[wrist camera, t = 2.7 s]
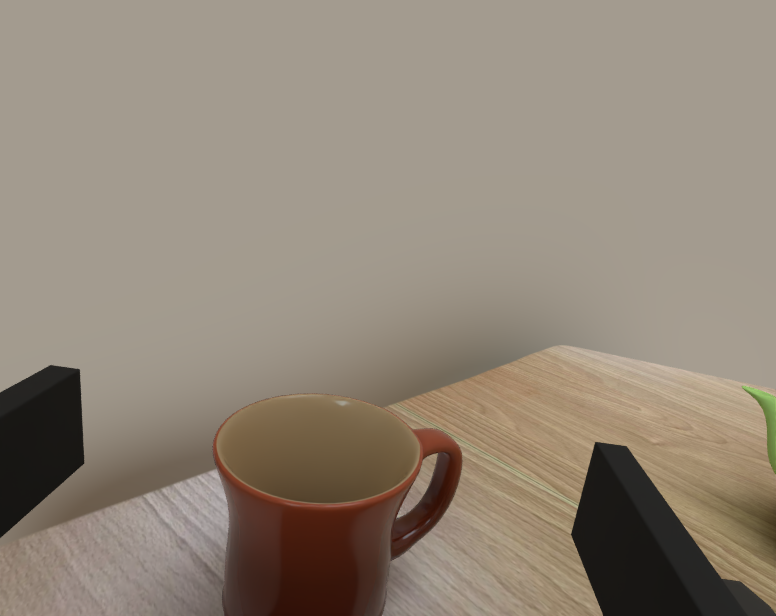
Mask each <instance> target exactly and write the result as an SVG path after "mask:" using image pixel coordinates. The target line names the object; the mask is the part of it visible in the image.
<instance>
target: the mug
mask: <svg viewBox="0 0 776 616" xmlns="http://www.w3.org/2000/svg"><path fill="white" fill-rule="evenodd" d="M435 453H438V455H437V461H436V465H435V469H434V472H433V476H432V479H431V481H430V484H429V486H428V489H427V491H426V493H425V494H424V496H423V497H422V499H421V500H420V502H419V503H418V504H417V505H416V506H415V507H414V508H413V509H412V510H411V511H410V512H408V513H407V514H405V515H404V516H402V517H400V518H397V519H396V517H397V514H398V512H399V510H400V507H401V505H402V503H403V501H404V499H405V497H406V495H407V494H408V492H409V490H410V488H411V486H412V485H413V483H414V481H415V479H416V477H417V476H418V474H419V471H420V468H421V465H422V460H423V459H424V458H426V457H427V456H429V455H432V454H435ZM213 457H214V461H215V465H216V467H217V470H218V473H219V476H220V479H221V482H222V485H223V488H224V491H225V495H226V499H227V503H228V510H229V528H228V538H227V547H226V559H225V576H224V586H223V592H222V605H223V611H224V616H382V614H383V611H384V607H385V602H386V595H387V581H388V574H389V567H390V562H391V561H392V560H394V559H396V558H398V557H400V556H401V555H403V554H404V553H405V552H406V551H408V550H409V549H410V548H411V547H412V546H413V545H414V544H415V543H417V542H418V541H419V540H420V539H421V538H423V537H424V536H425V535H426V534H427V533H428V532H430V531H431V530H432V529H433V528H434V526H435V525H436V524H437V523H438V522H439V521H440V519H441V518H442V516H443V515H444V514H445V512H446V510H447V509H448V507H449V505H450V503H451V501H452V499H453V497H454V495H455V492H456V489H457V486H458V483H459V479H460V476H461V470H462V452H461V449H460V447H459V446H458V444H457V443H456V442H455V441H454V440H453V439H452V438H451V437H450V436H449V435H447V434H446V433H444V432H443V431H441V430H438V429H433V428H425V429H411V428H410V427H409V426H408V425H407V424H406V423H405V422H404V421H403V420H401V419H400V418H399V417H397V416H396V415H394V414H393V413H391V412H390V411H388V410H386V409H384V408H381V407H379V406H376V405H373V404H370V403H367V402H364V401H360V400H357V399H353V398H349V397H343V396H337V395H329V394H293V395H292V394H291V395H284V396H278V397H273V398H268V399H265V400H261V401H258V402H255V403H253V404H250V405H248V406H246V407H244V408H242V409H240V410H238V411H237V412H235V413H234V414H232V415H231V416H230V417H229V418H227V420H225V421H224V423H223V424H222V425H221V426H220V428H219V429H218V431H217V433H216V435H215V438H214V441H213Z"/></svg>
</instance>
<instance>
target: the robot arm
mask: <svg viewBox="0 0 776 616" xmlns="http://www.w3.org/2000/svg"><path fill="white" fill-rule="evenodd" d="M80 387H81V385H80V370H79V369H74V368H67V367H59V366H53V365H50V366H48V367H46V368H44V369H43V370H41V371H39V372H37V373H35V374H34V375H32V376H30V377H28V378H26V379H24V380H22V381H21V382H19V383H17V384H15V385H13V386H11V387H10V388H8V389H6V390H4V391H2V392H1V393H0V538H1V537H2V536H3V535H4V534H5V533H6V532H8V531H9V530H10V529H11V528H12V527H13V526H14V525H15V524H17V523H18V522H19V521H20V520H21V519H22V518H23V517H24V516H26V515H27V514H28V513H29V512H30V511H31V510H32V509H33V508H34V507H36V506H37V505H38V504H39V503H40V502H41V501H42V500H44V499H45V498H46V497H47V496H48V495H49V494H50V493H51V492H52V491H54V490H55V489H56V488H57V487H58V486H59V485H60V484H62V483H63V482H64V481H65V480H66V479H67V478H68V477H69V476H71V475H72V474H73V473H74V472H75V471H76V470H77V469H78V468H79V467H81V466H82V465H83V464H84V448H83V427H82V407H81V388H80ZM571 535H572V538H573V541H574V543H575V546H576V548H577V551H578V553H579V556H580V558H581V561H582V563H583V566H584V568H585V571H586V573H587V576H588V578H589V581H590V583H591V586H592V588H593V591H594V593H595V596H596V598H597V601H598V603H599V606H600V608H601V611H602V613H603V616H776V614H775V613H774V611H773V610H772V609H771V607H770V606H769V605H768V604H766V603H765V602H764V601H763V600H762V599H761V598H759V597H758V596H757V595H756V594H755V593H753V592H752V591H751V590H750V589H749V588H747V587H746V586H745V585H744V584H743V583H742V582H740V581H733V580H726V579H721V577H720V576H719V575H718V573H717V572H716V570H715V569H714V568H713V566H712V565H711V564H710V562H709V561H708V559H707V558H706V557H705V555H704V554H703V552H702V551H701V550H700V548H699V547H698V545H697V544H696V543H695V541H694V540H693V538H692V537H691V536H690V534H689V533H688V531H687V530H686V529H685V527H684V526H683V524H682V523H681V522H680V520H679V519H678V517H677V516H676V515H675V513H674V512H673V510H672V509H671V508H670V506H669V505H668V504H667V502H666V501H665V499H664V498H663V497H662V495H661V494H660V492H659V491H658V490H657V488H656V487H655V485H654V484H653V483H652V481H651V480H650V478H649V477H648V476H647V474H646V473H645V471H644V470H643V469H642V467H641V466H640V464H639V463H638V462H637V460H636V459H635V457H634V456H633V455H632V453H631V452H630V451H629V449H628V448H627V446H621V445H614V444H607V443H600V442H595V445H594V449H593V453H592V457H591V461H590V465H589V468H588V472H587V476H586V480H585V484H584V487H583V491H582V495H581V499H580V503H579V506H578V510H577V514H576V518H575V522H574V526H573V529H572V533H571Z"/></svg>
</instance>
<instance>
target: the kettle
mask: <svg viewBox="0 0 776 616" xmlns="http://www.w3.org/2000/svg"><path fill="white" fill-rule="evenodd" d="M742 388H743V389H744V390H745V391H746V392H748V393H749V394H750V395H751V396H752V397H753V398H755V399H756V400H757V401H758V403H759V404H760V406H761V407H762V409H763V411H764V414H765V417H766V423H767V449H768V457H769V461H770V464H771V466H772V468H773V471H774V473H775V474H776V397H775V396H773V395H771V394H768V393H766V392H763V391H760V390H757V389H754V388H751V387H746V386H742Z"/></svg>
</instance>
